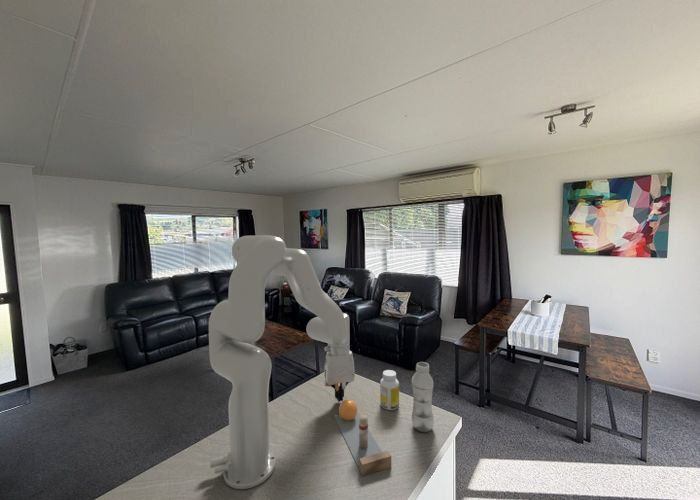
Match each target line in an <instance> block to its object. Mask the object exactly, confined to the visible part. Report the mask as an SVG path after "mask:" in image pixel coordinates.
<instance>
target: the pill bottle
mask: <svg viewBox="0 0 700 500" xmlns="http://www.w3.org/2000/svg"><path fill="white" fill-rule="evenodd" d="M379 384H380V385H379V387H380V390H379V391H380V392H379V393H380V394H379V395H380V396H379V397H380V405H381V407H382V408H383V409H385V410H388V411H395V410H397V409H398V408H399V407H400V382H399V380H398V379H397V372H396V371H395V370H393V369H392V370H391V369H385V370H383V372H382V378H381V379H380V382H379Z"/></svg>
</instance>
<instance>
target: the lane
mask: <svg viewBox="0 0 700 500" xmlns="http://www.w3.org/2000/svg"><path fill="white" fill-rule="evenodd" d="M359 416H361V415H360V414H359V412H358V411H357V415H356V417H355V418H354V419H353V420H350V421H346V420H344V419H343V418H342V417H341V416H340V414H335V415H333V418H334V419H335V422H336V424H337V425H338V428H339V430H340V432H341V434H342V436H343V438H344V441H345V443H346V445H347V447H348V449H349V452H350V453H351V455H352V457H353V459H354V462H355V464H356V466H357V467H358V468H359V459H360V458H363V457H367V456H370V455H374V454H377V453H381V452H383V450H382V449H381V447H380V446H379V445H378V443H377V441H376V439H375V437H374V436H373V434H372V433H371V432H370V429H368V447H367V449H361V448H360V447H359Z"/></svg>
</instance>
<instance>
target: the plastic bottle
mask: <svg viewBox="0 0 700 500" xmlns="http://www.w3.org/2000/svg"><path fill="white" fill-rule="evenodd" d="M429 372H430V364H429V363H427V362H424V361H420V362H417V363H416V365H415V373H414V374H413V375H412V378H411V389H412V397H413V405H412V412H411V425H412V426H413V428H414V429H415V430H416V431H418V432H421V433H429V432H431V430H432V429H434V428H433V427H434V425H435V420H434V413H433V403H432V401H433V391H434V384H435V383H434V380H433V379H434V378H433V377H432V376H431V374H430V373H429Z"/></svg>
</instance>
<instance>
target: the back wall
mask: <svg viewBox="0 0 700 500" xmlns="http://www.w3.org/2000/svg"><path fill="white" fill-rule="evenodd" d="M390 468H392V455H391V453H390V451H389V450H385V451H382V452H381V453H377V454H374V455H370V456H367V457H363V458H360V459H359V467H358V469H359V470H358V471H359V472H360V475H361V476H362V477H365V476H367V475H371V474H374V473H378V472H380V471H383V470H387V469H390Z"/></svg>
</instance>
